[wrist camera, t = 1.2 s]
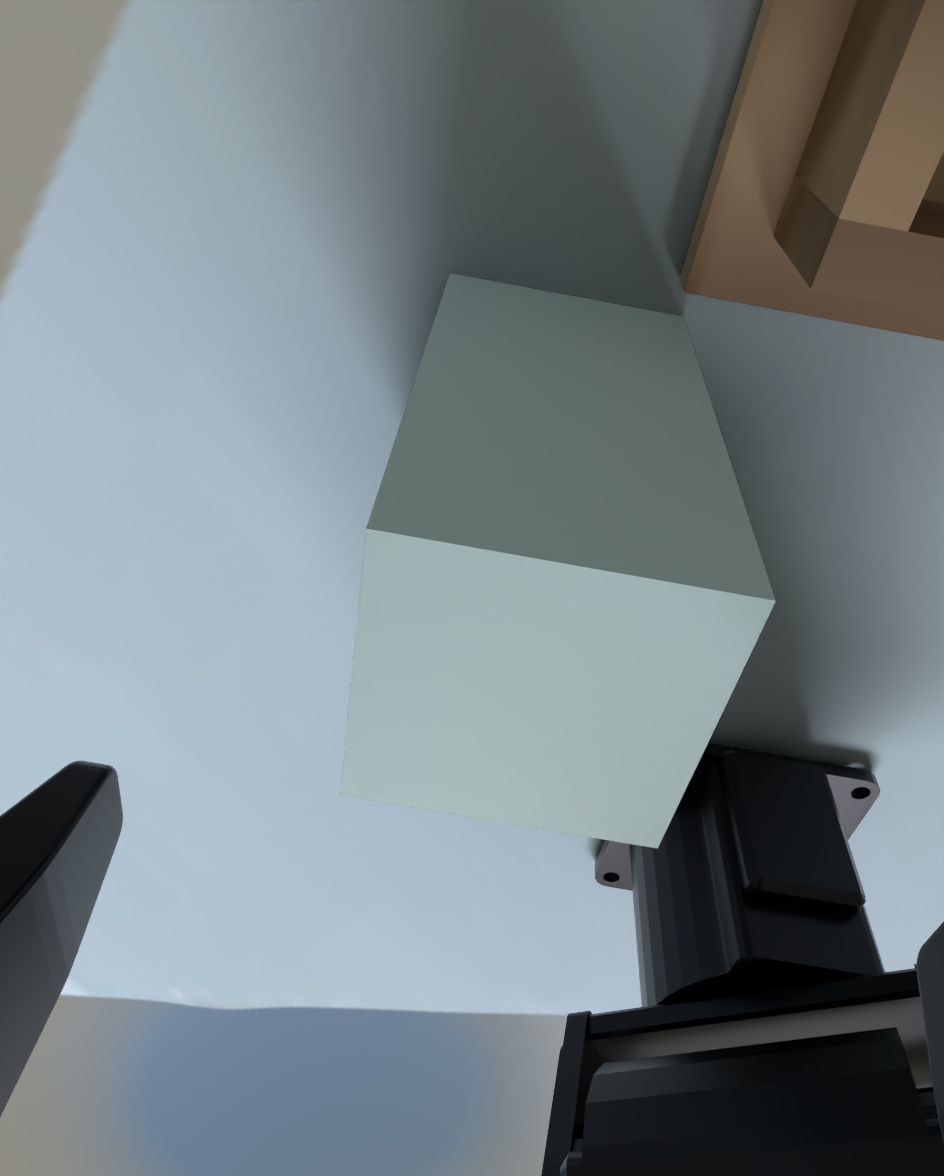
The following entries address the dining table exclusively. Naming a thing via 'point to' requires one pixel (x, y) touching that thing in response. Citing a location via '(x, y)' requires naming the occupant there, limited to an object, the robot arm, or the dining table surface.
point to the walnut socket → (832, 168)
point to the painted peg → (551, 572)
